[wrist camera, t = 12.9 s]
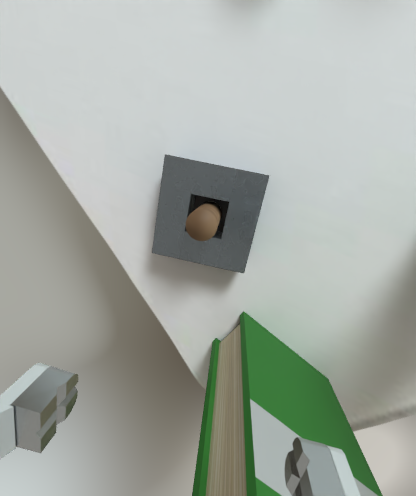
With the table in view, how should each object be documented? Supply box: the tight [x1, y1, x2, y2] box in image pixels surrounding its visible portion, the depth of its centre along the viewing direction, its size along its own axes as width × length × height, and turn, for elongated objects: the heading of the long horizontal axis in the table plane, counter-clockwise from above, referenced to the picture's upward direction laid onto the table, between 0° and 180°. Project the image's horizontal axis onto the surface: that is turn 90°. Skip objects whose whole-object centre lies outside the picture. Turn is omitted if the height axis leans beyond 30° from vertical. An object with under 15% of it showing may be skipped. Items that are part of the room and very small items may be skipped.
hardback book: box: [192, 312, 382, 496], centre depth 27 cm, size 18×7×24 cm, turn 51°
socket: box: [152, 155, 269, 273], centre depth 31 cm, size 12×12×4 cm
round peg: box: [186, 201, 222, 241], centre depth 28 cm, size 3×3×9 cm
